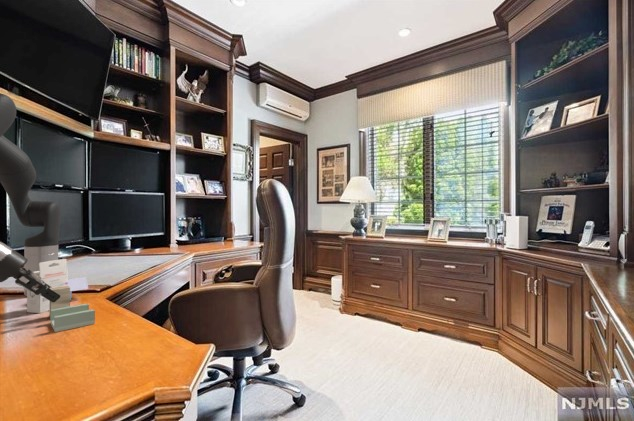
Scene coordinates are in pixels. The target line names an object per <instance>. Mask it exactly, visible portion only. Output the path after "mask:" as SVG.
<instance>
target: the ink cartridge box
mask: <svg viewBox="0 0 634 421" xmlns="http://www.w3.org/2000/svg"><path fill="white" fill-rule="evenodd" d="M53 263H54V264H58V266H53V267H49V265H52V264H53ZM68 271H69V270H68V261H67V258H62V259H61V258H60V259H58V260H53V261H47V262H40V263H39V271H35V272H34V273H35V274H36V275H38V276H39V277H41V279H42V280H43V281H44V282H45V283H46V284H48V285H49V286H51V287H59V286H67V285H68V279H69V278H68V277H69V272H68ZM36 290H37V289H36ZM49 311H50V301H49V300H48V299H46V298H45V297H43V296H41V295H36V294H35V293H34V292H31V291H28V290H27V296H26V312H27V313H35V314H42V313H45V312H49Z"/></svg>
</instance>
